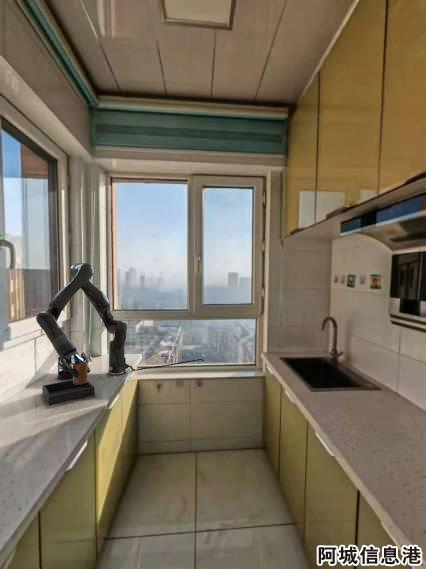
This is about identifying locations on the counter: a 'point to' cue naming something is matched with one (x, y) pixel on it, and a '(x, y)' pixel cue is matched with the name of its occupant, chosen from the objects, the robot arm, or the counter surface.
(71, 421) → the counter surface
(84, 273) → the robot arm
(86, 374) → the brown cup
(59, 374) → the french press
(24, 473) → the counter surface
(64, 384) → the dark square tray
